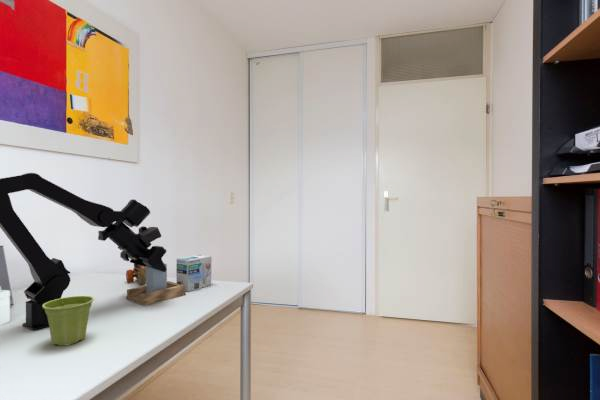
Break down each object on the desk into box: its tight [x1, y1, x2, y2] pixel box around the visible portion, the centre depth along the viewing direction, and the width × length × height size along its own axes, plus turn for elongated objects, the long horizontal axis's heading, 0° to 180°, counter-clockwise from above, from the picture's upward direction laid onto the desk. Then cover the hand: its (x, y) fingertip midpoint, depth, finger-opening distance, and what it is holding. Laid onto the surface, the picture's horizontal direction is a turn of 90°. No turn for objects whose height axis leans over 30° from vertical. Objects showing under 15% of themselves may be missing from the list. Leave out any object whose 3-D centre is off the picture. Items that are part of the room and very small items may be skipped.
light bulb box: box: [176, 254, 212, 292], centre depth 120 cm, size 11×7×11 cm, turn 147°
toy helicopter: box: [125, 263, 146, 285], centre depth 123 cm, size 8×21×14 cm, turn 38°
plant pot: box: [42, 295, 95, 346], centre depth 75 cm, size 9×9×9 cm
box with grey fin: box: [145, 257, 168, 293], centre depth 108 cm, size 4×4×12 cm
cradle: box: [126, 280, 187, 307], centre depth 108 cm, size 14×11×3 cm
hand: (160, 269), depth 109 cm, fingers open, 6 cm apart
